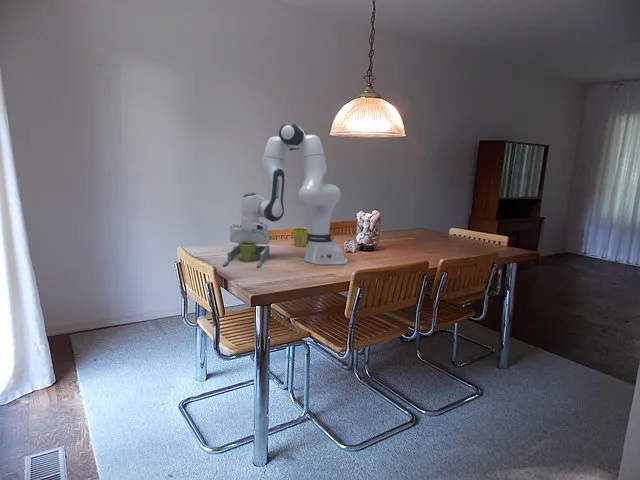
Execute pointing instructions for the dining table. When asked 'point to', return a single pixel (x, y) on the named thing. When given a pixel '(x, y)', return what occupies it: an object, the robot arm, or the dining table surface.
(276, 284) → the dining table surface
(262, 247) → the green u-shaped frame
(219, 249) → the dining table surface
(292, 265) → the dining table surface
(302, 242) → the plant pot
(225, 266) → the strips
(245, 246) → the plant pot
